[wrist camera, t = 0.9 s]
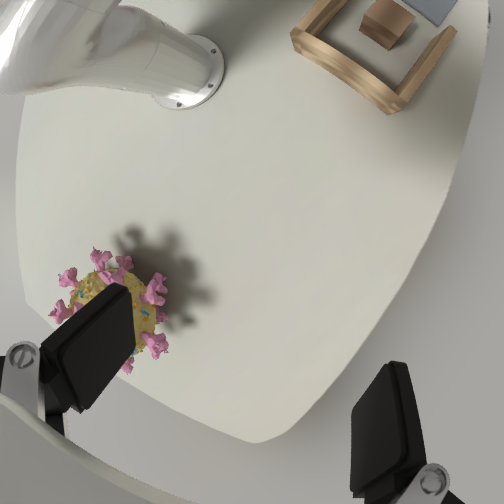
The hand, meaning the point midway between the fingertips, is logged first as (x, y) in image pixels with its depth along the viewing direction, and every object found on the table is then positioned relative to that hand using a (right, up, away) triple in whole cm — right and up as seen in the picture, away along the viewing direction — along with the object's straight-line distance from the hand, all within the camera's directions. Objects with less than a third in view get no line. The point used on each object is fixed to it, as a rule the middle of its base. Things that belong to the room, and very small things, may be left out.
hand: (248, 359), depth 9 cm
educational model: (-22, -3, +43) cm, 48 cm away
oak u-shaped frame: (+17, +33, +18) cm, 41 cm away
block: (+18, +35, +17) cm, 43 cm away
